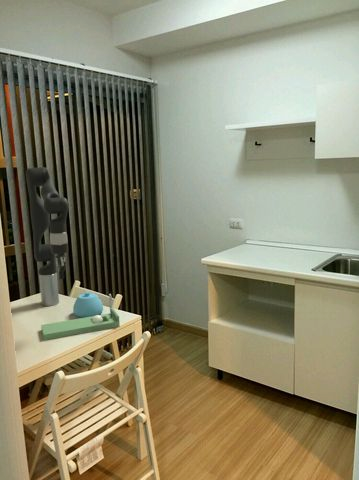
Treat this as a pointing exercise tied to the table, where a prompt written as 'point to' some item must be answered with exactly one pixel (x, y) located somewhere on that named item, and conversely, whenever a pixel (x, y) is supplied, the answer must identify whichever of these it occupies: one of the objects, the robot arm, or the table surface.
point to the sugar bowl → (87, 305)
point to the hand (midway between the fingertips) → (61, 278)
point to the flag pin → (110, 305)
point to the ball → (97, 319)
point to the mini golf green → (79, 326)
